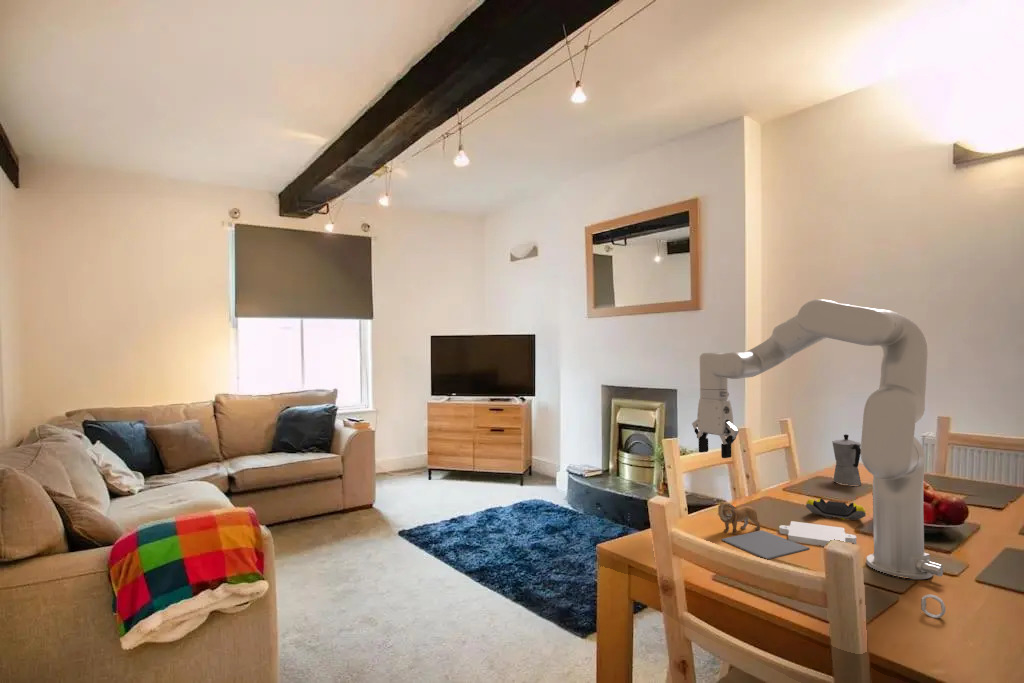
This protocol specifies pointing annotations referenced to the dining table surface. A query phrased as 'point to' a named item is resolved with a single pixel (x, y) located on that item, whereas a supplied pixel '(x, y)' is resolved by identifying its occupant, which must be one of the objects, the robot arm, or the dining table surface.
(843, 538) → the mounting plate
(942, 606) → the grey ring
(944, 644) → the dining table surface
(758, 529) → the lion figurine
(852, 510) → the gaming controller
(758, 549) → the mat
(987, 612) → the dining table surface
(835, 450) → the coffeepot
